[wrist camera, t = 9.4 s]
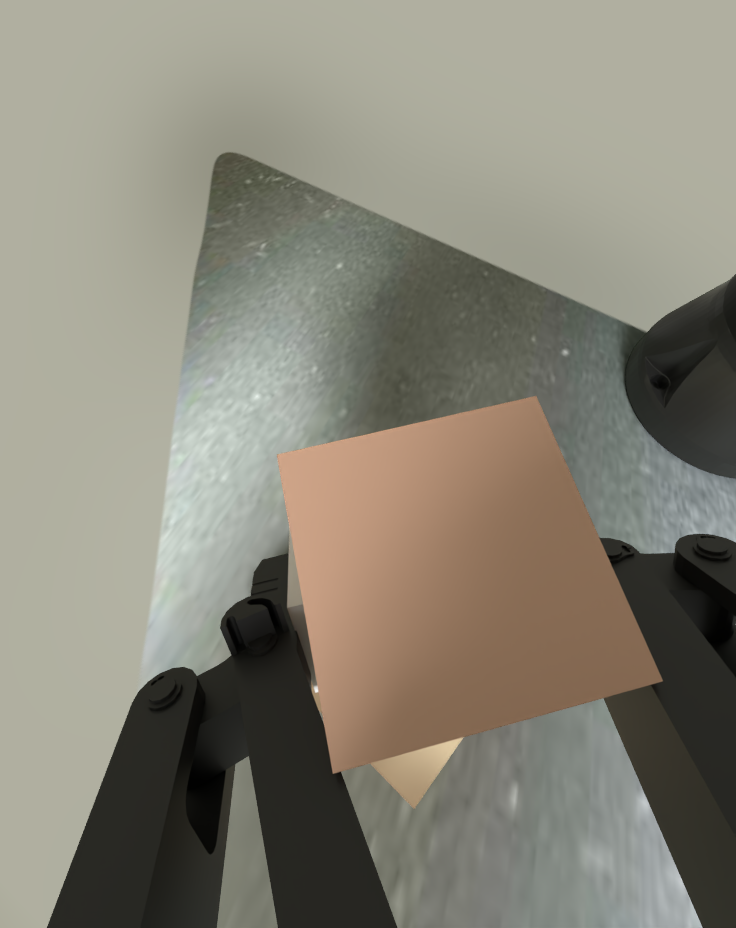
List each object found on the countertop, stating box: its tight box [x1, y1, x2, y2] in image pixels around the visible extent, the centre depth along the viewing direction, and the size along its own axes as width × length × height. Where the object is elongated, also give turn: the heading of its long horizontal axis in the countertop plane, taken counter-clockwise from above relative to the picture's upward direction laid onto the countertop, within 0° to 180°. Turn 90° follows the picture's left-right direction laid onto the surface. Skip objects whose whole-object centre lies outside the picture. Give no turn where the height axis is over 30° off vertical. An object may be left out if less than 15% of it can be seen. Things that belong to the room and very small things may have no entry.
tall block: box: [277, 396, 663, 774], centre depth 13 cm, size 5×5×12 cm
